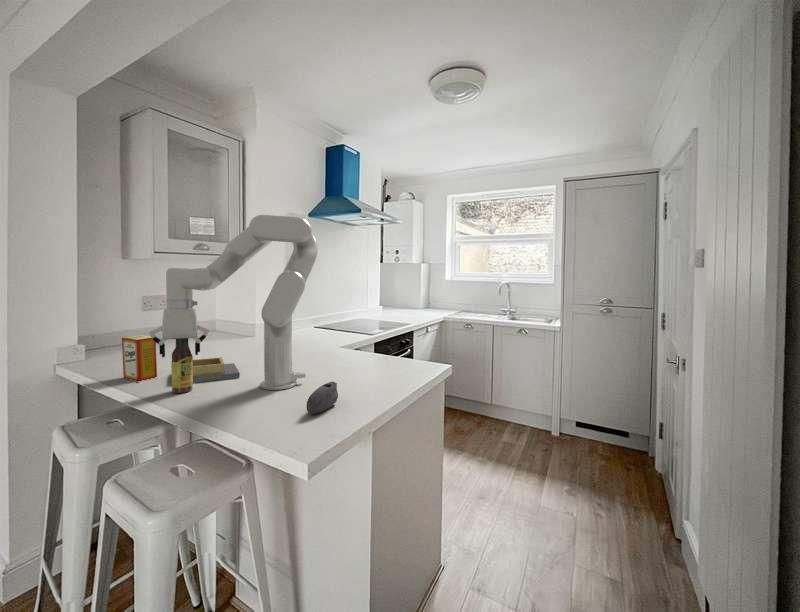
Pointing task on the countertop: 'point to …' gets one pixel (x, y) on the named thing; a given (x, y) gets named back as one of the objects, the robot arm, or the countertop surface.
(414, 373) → the countertop surface
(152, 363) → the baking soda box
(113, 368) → the countertop surface
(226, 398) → the countertop surface
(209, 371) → the wooden tray on slab
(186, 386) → the sauce bottle
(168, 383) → the countertop surface
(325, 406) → the perforated stone tool
